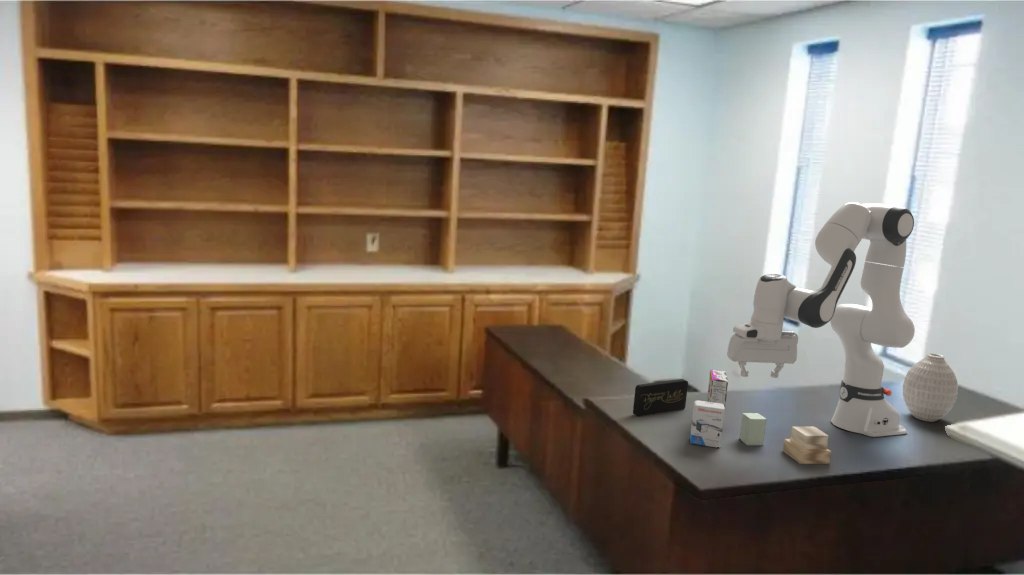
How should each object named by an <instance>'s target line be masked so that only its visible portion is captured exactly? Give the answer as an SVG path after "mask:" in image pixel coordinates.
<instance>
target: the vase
mask: <svg viewBox="0 0 1024 575" xmlns="http://www.w3.org/2000/svg"><path fill="white" fill-rule="evenodd" d="M958 394H959V383H958V379H957V376H956V373H955V372H954V370H953V369H952V368H951V367H950V365H949V363H948V362H946V360H945V356H944V355H942V354H939V353H934V352H933V353H927V354H926V356H925V357H924V358H922V359H921V360H919V361H917V362H916V363H914V364H913V365H912V366H911V367H910V368H909V370H908V371H907V372H906V374H905V377H904V380H903V381H902V396H903V401H904V403H905V406H906V407H907V409H908V411H909V412H910V414H911V415H912V416H913V418H916V419H917V420H919V421H923V422H930V423H931V422H933V423H934V422H937V421H939V420H940V419H942V418H943V417H945V416H946V415H947V414H948V413H949V412H950V411H951V410H952V409H953V407H954V406H955V404H956V402H957V399H958Z"/></svg>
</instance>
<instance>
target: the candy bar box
mask: <svg viewBox="0 0 1024 575" xmlns="http://www.w3.org/2000/svg"><path fill="white" fill-rule="evenodd" d="M709 370H710V371H709V379H708V388H707V397H706V402H713V403H720V404H723V405H724V407H725V408H726V402H727V393H728V385H729V379H728V376H727V372H726V371H725V370H718V369H709Z"/></svg>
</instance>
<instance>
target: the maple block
mask: <svg viewBox="0 0 1024 575" xmlns="http://www.w3.org/2000/svg"><path fill="white" fill-rule="evenodd" d="M789 439H790V440H791V441H793V442H794V443H795V444H797V445H798V446H800V447H801V448H802V449H828V443H829V435H828V434H827V433H825V432H824V431H822V430H820V429H819V428H817V427H816V426H806V425H805V426H791V431H790V438H789Z"/></svg>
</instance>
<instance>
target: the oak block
mask: <svg viewBox="0 0 1024 575" xmlns="http://www.w3.org/2000/svg"><path fill="white" fill-rule="evenodd" d="M782 452H784V453H785V454H786V455H787V456H789V457H791V458H792V459H793V460H794V461H796V462H797V463H798V464H800V465H801V464H805V465H808V464H809V465H810V464H812V465H813V464H822V465H823V464H824V465H825V464H827V465H828V464H830V462H831V455H832V450H830V449H828V448H827V449H802V448H801V447H800V446H798V445H797V444H795V443H794V442H793V441H791V440H790V438H784V440H783V445H782Z"/></svg>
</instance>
